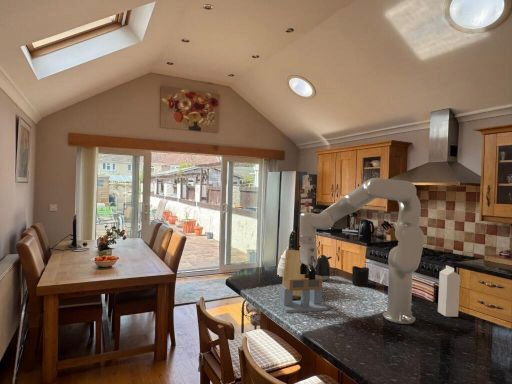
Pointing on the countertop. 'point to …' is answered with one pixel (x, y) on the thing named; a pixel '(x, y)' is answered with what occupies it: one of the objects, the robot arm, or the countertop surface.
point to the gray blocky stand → (301, 301)
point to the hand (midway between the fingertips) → (307, 276)
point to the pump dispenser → (323, 268)
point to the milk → (448, 292)
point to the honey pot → (281, 264)
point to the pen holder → (360, 276)
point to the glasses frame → (303, 284)
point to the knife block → (292, 264)
